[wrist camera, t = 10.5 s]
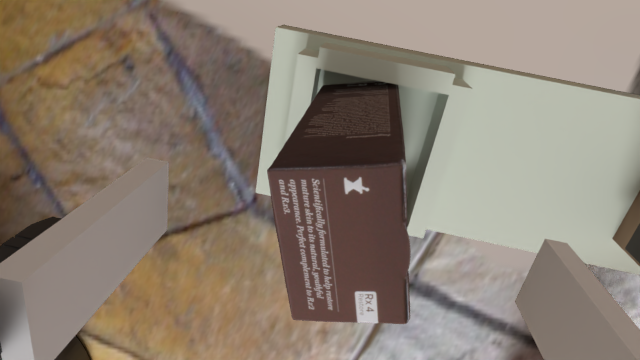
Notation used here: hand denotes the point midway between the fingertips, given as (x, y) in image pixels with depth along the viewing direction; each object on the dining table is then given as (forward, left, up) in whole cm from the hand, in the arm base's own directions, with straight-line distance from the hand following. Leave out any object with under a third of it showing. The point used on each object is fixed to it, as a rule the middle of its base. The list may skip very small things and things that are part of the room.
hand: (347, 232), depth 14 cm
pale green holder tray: (+9, 0, -12) cm, 16 cm away
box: (0, 0, -11) cm, 11 cm away
